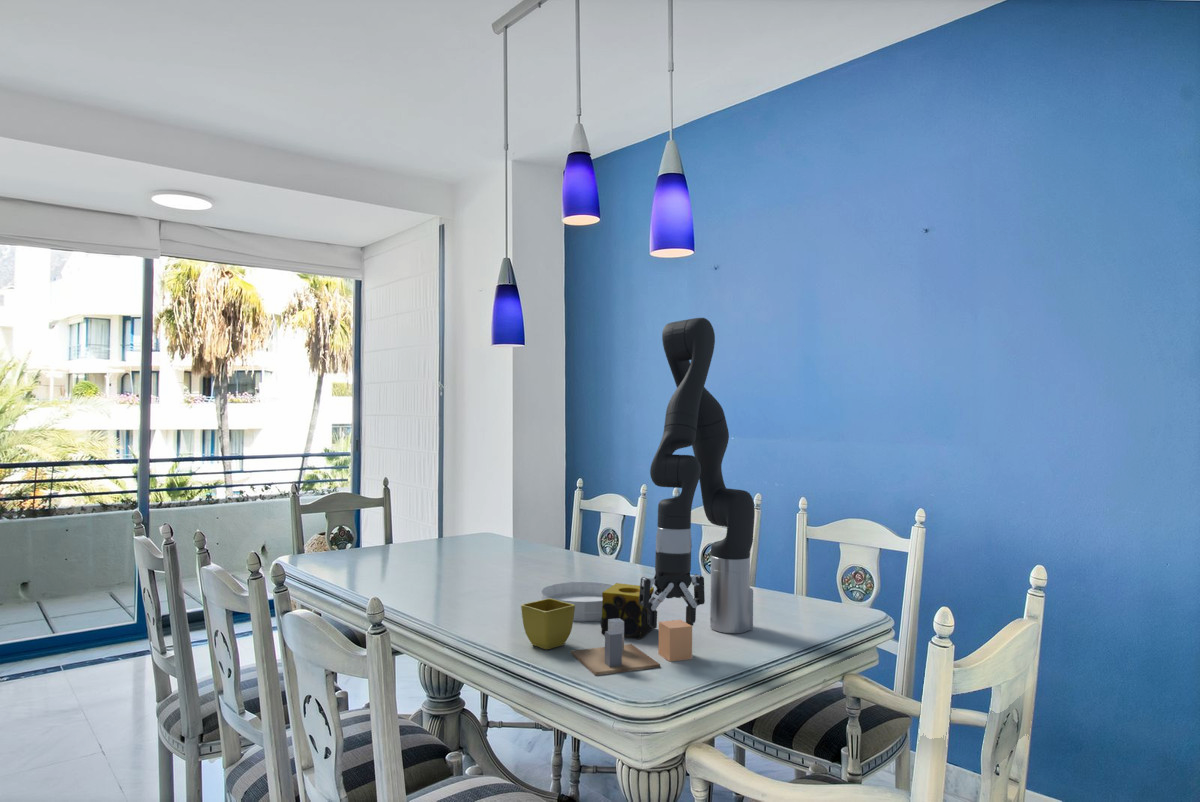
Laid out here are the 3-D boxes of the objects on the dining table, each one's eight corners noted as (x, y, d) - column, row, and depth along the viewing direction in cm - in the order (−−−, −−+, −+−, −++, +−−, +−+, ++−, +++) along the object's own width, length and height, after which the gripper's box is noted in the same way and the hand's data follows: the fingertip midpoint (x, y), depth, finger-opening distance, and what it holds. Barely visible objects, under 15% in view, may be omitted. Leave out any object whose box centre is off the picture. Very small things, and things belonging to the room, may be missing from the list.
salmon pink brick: (680, 651, 160) (680, 619, 160) (691, 658, 155) (692, 626, 155) (658, 654, 158) (658, 621, 158) (669, 661, 153) (669, 628, 153)
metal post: (619, 648, 160) (619, 618, 160) (623, 651, 157) (624, 621, 158) (607, 649, 159) (608, 619, 159) (612, 653, 156) (612, 622, 157)
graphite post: (616, 661, 151) (616, 630, 151) (621, 665, 149) (621, 633, 149) (604, 663, 150) (605, 631, 150) (609, 667, 148) (609, 634, 148)
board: (631, 646, 163) (631, 644, 163) (660, 667, 150) (660, 664, 150) (571, 653, 158) (571, 650, 158) (595, 675, 145) (595, 672, 145)
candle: (615, 623, 181) (615, 582, 181) (654, 628, 177) (655, 586, 178) (599, 635, 172) (600, 591, 172) (641, 640, 168) (641, 595, 168)
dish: (617, 625, 181) (617, 604, 181) (529, 619, 185) (529, 598, 185) (631, 602, 202) (631, 584, 203) (553, 597, 207) (553, 579, 207)
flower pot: (519, 645, 163) (519, 604, 163) (549, 637, 169) (550, 597, 169) (545, 654, 157) (545, 611, 157) (575, 646, 163) (576, 604, 163)
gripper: (695, 545, 163) (693, 619, 163) (635, 547, 158) (633, 623, 158) (711, 550, 156) (709, 628, 156) (650, 553, 151) (647, 633, 151)
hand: (671, 626), depth 157 cm, fingers open, 8 cm apart
